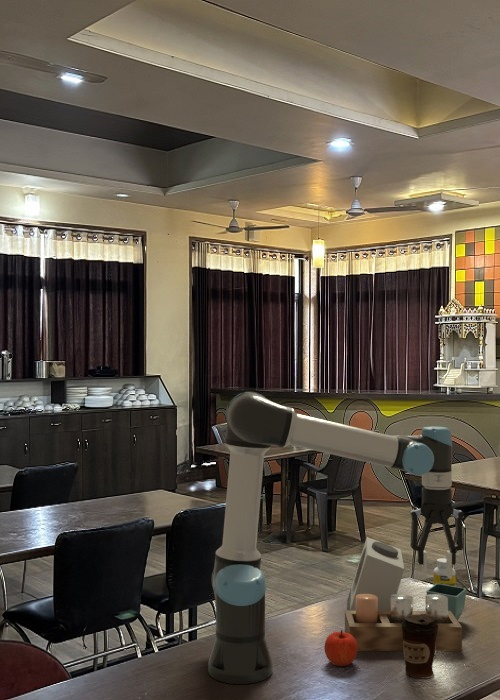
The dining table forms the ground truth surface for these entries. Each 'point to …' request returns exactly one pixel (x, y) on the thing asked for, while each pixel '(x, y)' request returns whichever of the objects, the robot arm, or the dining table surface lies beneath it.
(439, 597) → the plug far
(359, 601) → the plug terracotta
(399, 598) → the plug mid
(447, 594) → the flower pot
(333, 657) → the apple
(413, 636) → the coffee cup
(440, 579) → the pill bottle
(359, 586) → the alarm clock
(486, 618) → the dining table surface
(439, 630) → the divided box
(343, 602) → the dining table surface
